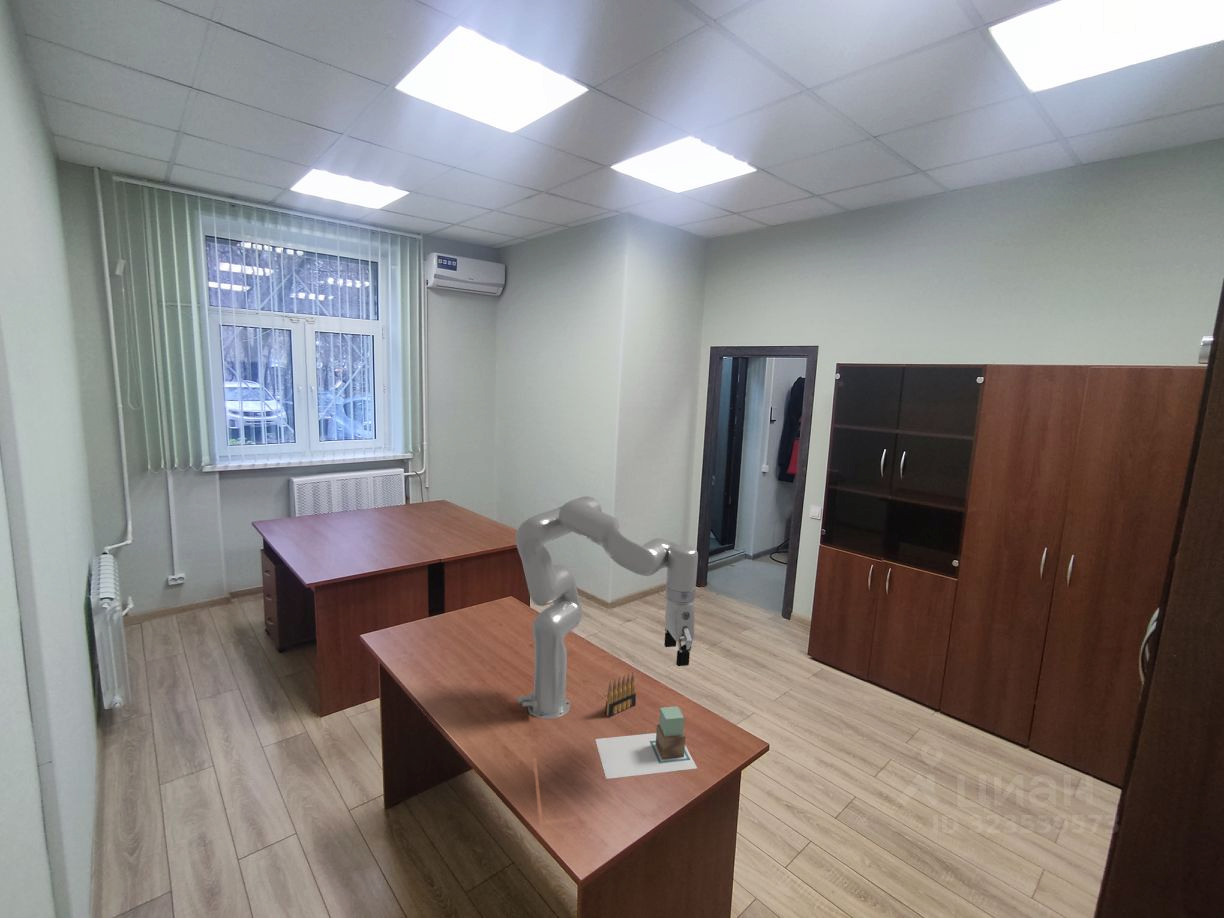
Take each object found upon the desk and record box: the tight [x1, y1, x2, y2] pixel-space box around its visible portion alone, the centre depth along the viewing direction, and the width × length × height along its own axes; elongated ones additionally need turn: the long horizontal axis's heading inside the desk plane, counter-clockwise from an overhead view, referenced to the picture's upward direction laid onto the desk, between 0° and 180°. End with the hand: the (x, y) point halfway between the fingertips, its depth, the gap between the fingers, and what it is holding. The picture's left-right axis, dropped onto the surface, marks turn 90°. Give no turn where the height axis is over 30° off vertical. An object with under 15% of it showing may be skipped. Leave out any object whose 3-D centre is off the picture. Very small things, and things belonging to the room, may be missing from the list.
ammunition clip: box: [604, 670, 637, 718], centre depth 158 cm, size 11×2×12 cm, turn 129°
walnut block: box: [655, 723, 686, 760], centre depth 142 cm, size 6×6×6 cm
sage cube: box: [658, 706, 685, 737], centre depth 141 cm, size 5×5×5 cm
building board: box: [595, 732, 698, 780], centre depth 141 cm, size 24×15×1 cm, turn 102°
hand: (676, 655), depth 138 cm, fingers open, 9 cm apart
